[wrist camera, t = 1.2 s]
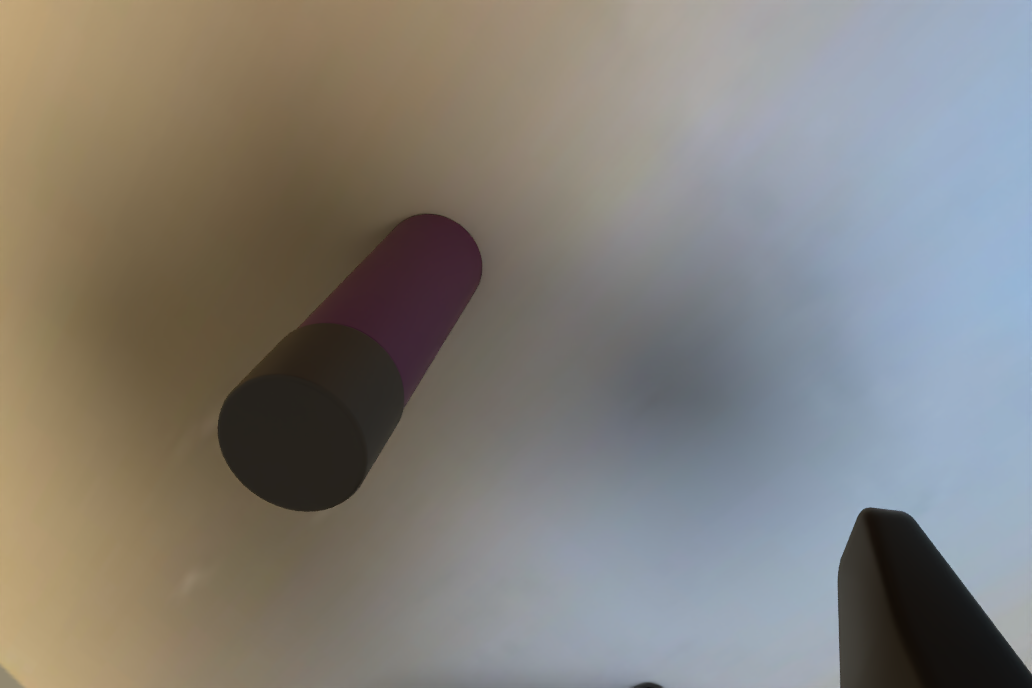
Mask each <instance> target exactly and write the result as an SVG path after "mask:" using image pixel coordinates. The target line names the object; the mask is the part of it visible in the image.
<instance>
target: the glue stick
mask: <svg viewBox="0 0 1032 688" xmlns="http://www.w3.org/2000/svg"><path fill="white" fill-rule="evenodd" d="M481 275H482V260H481V255H480V252H479V249H478V247H477V245H476V243H475V241H474V240H473V238H472V237H471V235H470V234H469V233H468V232H467V231H466V230H465V229H464V228H463V227H462V226H460V225H459V224H458V223H456V222H454V221H452V220H450V219H448V218H446V217H442V216H439V215H433V214H424V215H417V216H413V217H411V218H408V219H406V220H404V221H403V222H401V223H400V224H399V225H397V226H396V227H395V228H394V229H393V230H392V232H391V233H390V234H389V235H388V236H387V237H386V238H385V239H384V240H383V241H382V242H381V243H380V244H379V245H378V246H377V247H376V248H375V249H374V250H373V251H372V252H371V253H370V254H369V255H368V256H367V257H366V258H365V259H364V260H363V261H362V262H361V263H360V264H359V265H358V266H357V268H356V269H355V270H354V271H353V272H352V273H351V274H350V275H349V276H348V277H347V278H346V279H345V280H344V281H343V282H342V283H341V284H340V285H339V286H338V287H337V288H336V289H335V290H334V291H333V292H332V293H331V294H330V295H329V296H328V297H327V298H326V299H325V300H324V301H323V302H322V304H321V305H320V306H319V307H318V308H317V309H316V310H315V311H314V312H313V313H312V314H311V315H310V316H309V317H308V318H307V319H306V320H305V321H304V322H303V323H302V324H301V325H300V326H299V327H298V328H297V329H296V330H294V331H293V332H291V333H289V334H288V335H287V336H286V337H284V338H283V339H282V340H281V341H280V342H279V343H278V345H277V346H276V347H275V348H274V349H273V350H272V351H271V352H270V353H269V354H268V355H267V356H266V357H265V358H264V359H263V360H262V361H261V362H260V363H259V364H258V365H257V366H256V367H255V368H254V369H253V370H252V371H251V372H250V373H249V374H248V375H247V376H246V377H245V378H244V379H243V380H242V381H241V382H240V383H239V384H238V385H237V386H236V387H235V388H234V389H233V390H232V392H231V393H230V394H229V395H228V396H227V398H226V399H225V401H224V403H223V405H222V408H221V411H220V414H219V420H218V439H219V444H220V448H221V451H222V454H223V456H224V458H225V460H226V462H227V464H228V466H229V467H230V469H231V471H232V472H233V473H234V474H235V476H236V477H237V478H238V479H239V480H240V481H241V482H242V484H243V485H244V486H246V487H247V488H248V489H249V490H250V491H251V492H253V493H254V494H256V495H257V496H259V497H260V498H262V499H264V500H266V501H267V502H269V503H272V504H274V505H276V506H279V507H282V508H285V509H290V510H295V511H304V512H309V511H320V510H325V509H328V508H332V507H334V506H336V505H338V504H341V503H342V502H344V501H345V500H347V499H349V498H350V497H351V496H352V495H353V494H354V493H355V492H356V491H357V490H358V488H359V487H360V486H361V484H362V482H363V481H364V479H365V477H366V476H367V474H368V472H369V471H370V469H371V467H372V466H373V464H374V462H375V461H376V459H377V457H378V456H379V454H380V452H381V451H382V449H383V447H384V446H385V444H386V442H387V441H388V439H389V437H390V436H391V434H392V432H393V431H394V429H395V427H396V426H397V424H398V422H399V420H400V418H401V415H402V412H403V409H404V407H405V406H406V404H407V402H408V401H409V399H410V397H411V396H412V394H413V392H414V391H415V389H416V387H417V386H418V384H419V383H420V381H421V379H422V378H423V376H424V374H425V373H426V371H427V369H428V368H429V366H430V364H431V363H432V361H433V360H434V358H435V356H436V355H437V353H438V351H439V350H440V348H441V346H442V345H443V343H444V341H445V340H446V338H447V337H448V335H449V333H450V332H451V330H452V328H453V327H454V325H455V323H456V322H457V320H458V318H459V317H460V315H461V314H462V312H463V310H464V309H465V307H466V305H467V304H468V302H469V300H470V299H471V297H472V295H473V294H474V292H475V290H476V289H477V287H478V285H479V282H480V279H481Z"/></svg>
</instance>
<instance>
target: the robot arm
mask: <svg viewBox="0 0 1032 688" xmlns="http://www.w3.org/2000/svg"><path fill="white" fill-rule="evenodd" d="M838 615H839V652H840V688H1032V674H1031V673H1030V671H1029V670H1028V669H1027V667H1026V666H1025V665H1024V663H1023V662H1022V661H1021V659H1020V658H1019V657H1018V655H1017V654H1016V653H1015V651H1014V650H1013V649H1012V648H1011V646H1010V645H1009V644H1008V642H1007V641H1006V640H1005V638H1004V637H1003V636H1002V634H1001V633H1000V632H999V630H998V629H997V628H996V626H995V625H994V624H993V622H992V621H991V620H990V618H989V617H988V616H987V615H986V613H985V612H984V611H983V609H982V608H981V607H980V605H979V604H978V603H977V601H976V600H975V599H974V597H973V596H972V595H971V593H970V592H969V591H968V589H967V588H966V587H965V585H964V584H963V583H962V582H961V580H960V579H959V578H958V576H957V575H956V574H955V572H954V571H953V570H952V568H951V567H950V566H949V564H948V563H947V562H946V560H945V559H944V558H943V556H942V555H941V554H940V552H939V551H938V550H937V549H936V547H935V546H934V545H933V543H932V542H931V541H930V539H929V538H928V537H927V535H926V534H925V533H924V531H923V530H922V529H921V527H920V526H919V525H918V523H917V522H916V521H915V520H914V519H913V517H911V516H910V515H909V514H907V513H905V512H902V511H896V510H887V509H879V508H871V507H870V508H865V509H863V510H862V511H861V512H860V514H859V515H858V517H857V520H856V522H855V525H854V527H853V530H852V532H851V535H850V537H849V540H848V542H847V545H846V547H845V550H844V552H843V555H842V557H841V560H840V565H839V571H838Z"/></svg>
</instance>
